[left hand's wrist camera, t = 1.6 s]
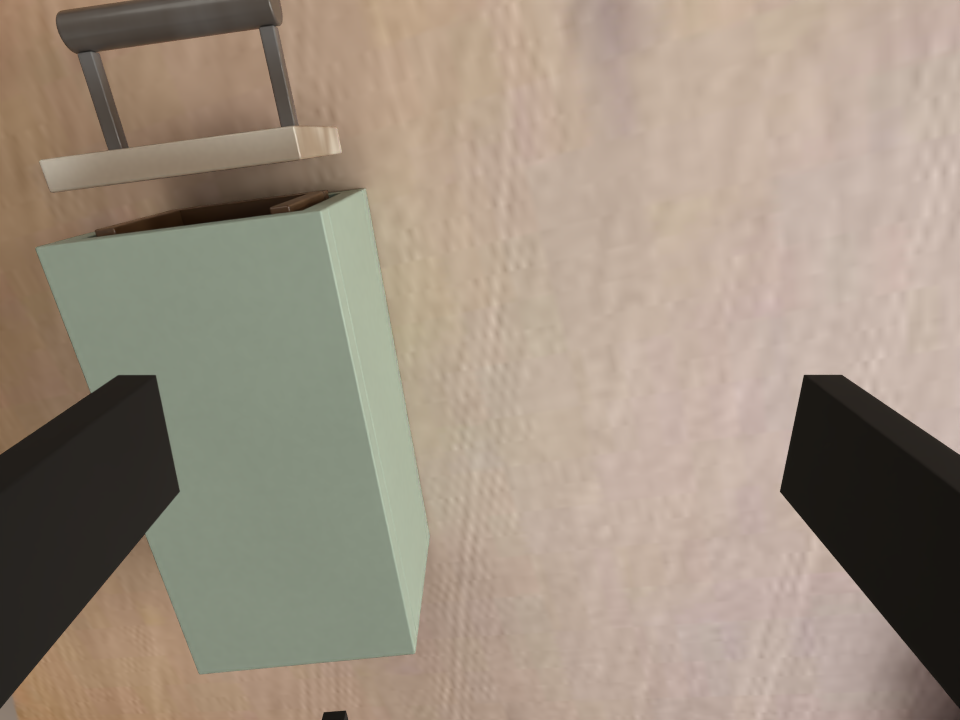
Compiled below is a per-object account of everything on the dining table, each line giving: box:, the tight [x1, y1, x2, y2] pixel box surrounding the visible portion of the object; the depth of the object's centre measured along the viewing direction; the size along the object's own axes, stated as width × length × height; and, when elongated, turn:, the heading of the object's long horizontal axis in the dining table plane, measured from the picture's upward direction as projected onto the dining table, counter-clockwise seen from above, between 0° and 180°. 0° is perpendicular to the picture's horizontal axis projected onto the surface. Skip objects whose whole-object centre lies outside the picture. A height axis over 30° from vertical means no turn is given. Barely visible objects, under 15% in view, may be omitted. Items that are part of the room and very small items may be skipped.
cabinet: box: [36, 188, 430, 674], centre depth 30 cm, size 21×11×9 cm, turn 7°
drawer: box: [39, 0, 342, 237], centre depth 28 cm, size 25×10×7 cm, turn 7°
